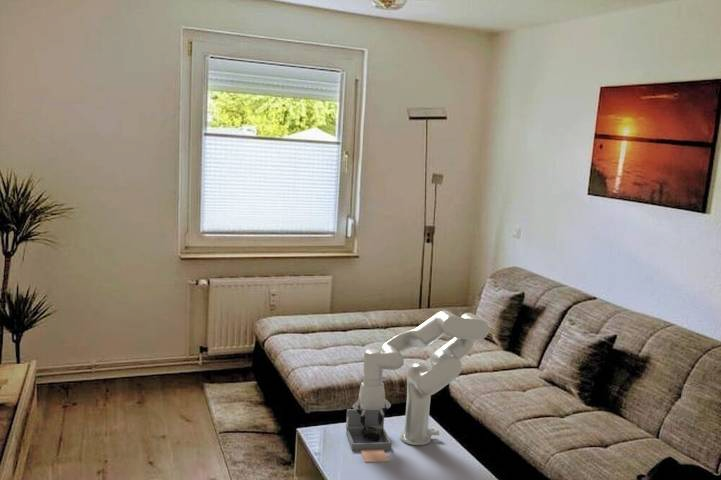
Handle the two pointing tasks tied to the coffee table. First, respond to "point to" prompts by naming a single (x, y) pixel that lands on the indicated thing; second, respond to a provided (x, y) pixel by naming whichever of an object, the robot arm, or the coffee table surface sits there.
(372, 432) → the tape measure
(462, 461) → the coffee table surface
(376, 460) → the mat
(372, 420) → the case
